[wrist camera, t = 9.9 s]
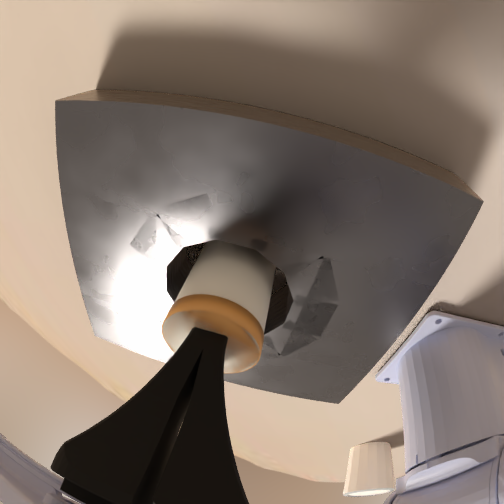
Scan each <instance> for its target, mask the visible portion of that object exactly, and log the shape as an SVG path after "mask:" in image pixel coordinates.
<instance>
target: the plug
mask: <svg viewBox="0 0 504 504" xmlns="http://www.w3.org/2000/svg"><path fill="white" fill-rule="evenodd" d="M275 271H276V266H275V265H274V264H272V263H271V262H270V261H269V260H268V259H266V258H265V257H264V256H263V255H262V254H260V253H259V252H258V251H257V250H255V249H252V248H248V247H244V246H240V245H236V244H232V243H228V242H225V241H221V240H212V241H208V242H206V243H205V245H204V247H203V249H202V251H201V253H200V254H199V256H198V258H197V260H196V262H195V264H194V266H193V268H192V269H191V271H190V273H189V275H188V277H187V279H186V281H185V283H184V285H183V287H182V289H181V290H180V292H179V294H178V296H177V298H176V300H175V302H174V303H173V304H172V306H171V307H170V309H169V311H168V313H167V315H166V317H165V319H164V321H163V323H162V328H161V330H162V336H163V338H164V340H165V342H166V344H167V345H168V347H169V348H170V349H171V350H172V351H173V352H174V353H175V352H176V351H177V350H178V348H179V347H180V346H181V344H182V343H183V342H184V340H185V339H186V337H187V336H188V334H189V333H190V331H191V329H192V328H194V327H197V328H201V329H204V330H207V331H211V332H215V333H218V334H222V335H225V336H227V338H228V341H227V346H226V350H225V358H224V373H239V372H243V371H246V370H248V369H250V368H252V367H253V366H255V365H256V364H257V363H258V361H259V359H260V356H261V351H262V346H263V341H264V330H265V325H266V319H267V314H268V309H269V304H270V298H271V293H272V288H273V282H274V277H275Z"/></svg>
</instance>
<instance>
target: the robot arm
mask: <svg viewBox="0 0 504 504" xmlns="http://www.w3.org/2000/svg"><path fill="white" fill-rule="evenodd" d="M227 341H228V338H227V336H225V335H222V334H218V333H215V332H211V331H207V330H204V329H201V328H197V327H194V328H192V329H191V331H190V333H189V334H188V336H187V337H186V339H185V340H184V342H183V343H182V344H181V346H180V347H179V348H178V350H177V351H176V352H175V353H174V355H173V356H172V357H171V358H170V359H169V360H168V362H167V363H166V364H165V365H164V366H163V367H162V369H161V370H160V371H159V372H158V373H157V374H156V375H155V376H154V377H153V378H152V379H151V380H150V381H149V382H148V383H147V384H146V385H145V386H144V387H143V388H142V389H141V390H140V391H139V392H138V393H137V394H135V395H134V396H133V397H132V398H131V399H130V400H128V401H127V402H126V403H125V404H124V405H122V406H121V407H120V408H119V409H117V410H116V411H115V412H113V413H112V414H111V415H109V416H108V417H106V418H105V419H103V420H102V421H100V422H99V423H97V424H96V425H94V426H93V427H91V428H90V429H88V430H86V431H84V432H83V433H81V434H79V435H77V436H75V437H74V438H71V439H69V440H68V441H66V442H65V443H64V444H63V445H62V446H61V448H60V449H59V451H58V452H57V454H56V456H55V458H54V460H53V463H52V465H51V469H52V470H53V471H54V472H56V473H57V474H59V475H60V476H62V477H64V479H63V478H61V477H60V476H58V475H56V474H55V473H53V472H51V471H50V470H48V469H47V468H45V467H44V466H42V465H41V464H39V463H38V462H36V461H35V460H33V459H32V458H30V457H29V456H28V455H26V454H25V453H23V452H22V451H21V450H19V449H18V448H17V447H15V446H14V445H13V444H11V443H10V442H9V441H8V440H7V439H6V437H4V436H3V435H2V434H1V433H0V500H1V502H3V504H80V503H81V504H249V502H248V500H247V498H246V495H245V492H244V489H243V486H242V483H241V480H240V477H239V473H238V470H237V466H236V462H235V458H234V454H233V450H232V446H231V441H230V436H229V430H228V424H227V417H226V408H225V397H224V358H225V350H226V346H227ZM375 378H376V381H378V382H385V383H393V384H399V388H400V397H401V406H402V417H403V430H404V447H405V473H406V475H404V476H402V477H400V478H397V479H396V490H395V491H394V492H393V493H392V494H391V495H389V497H388V498H387V499H386V500H385V502H384V504H504V327H503V326H499V325H495V324H490V323H486V322H481V321H477V320H473V319H469V318H464V317H460V316H456V315H452V314H447V313H443V312H439V311H430V312H429V313H427V314H426V316H425V317H424V318H423V320H422V321H421V322H420V323H419V325H418V326H417V327H416V329H415V330H414V331H413V332H412V334H411V335H410V336H409V337H408V339H407V340H406V341H405V342H404V343H403V345H402V346H401V347H400V348H399V349H398V350H397V352H396V353H395V354H394V355H393V356H392V357H391V359H390V360H389V361H388V362H387V363H386V364H385V365H384V366H383V367H382V369H381V370H380V371H379V372H378V373H377V374H376V375H375ZM182 422H183V423H182ZM181 424H182V425H181ZM180 427H181V428H180ZM179 430H180V431H179ZM178 432H179V433H178ZM177 435H178V436H177ZM62 493H63V494H65V495H66V496H68V497H70V498H72V499H74V500H75V501H77V502H75V501H73V500H71V499H68V498H66V497H63V496H62ZM78 502H79V503H78Z"/></svg>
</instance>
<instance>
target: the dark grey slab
mask: <svg viewBox="0 0 504 504" xmlns="http://www.w3.org/2000/svg"><path fill="white" fill-rule="evenodd" d="M55 121H56V146H57V160H58V171H59V180H60V189H61V197H62V204H63V210H64V216H65V222H66V228H67V233H68V238H69V243H70V248H71V253H72V257H73V262H74V266H75V270H76V274H77V278H78V282H79V285H80V289H81V293H82V296H83V300H84V303H85V307H86V310H87V313H88V316H89V319H90V322H91V326H92V329H93V331H94V334H95V336H97V337H99V338H101V339H104V340H106V341H109V342H111V343H113V344H116V345H118V346H121V347H123V348H126V349H128V350H131V351H134V352H136V353H139V354H142V355H144V356H147V357H150V358H153V359H156V360H158V361H161V362H164V363H167V362H168V360H169V359H170V358H171V357H172V356H173V355H174V352H173V351H172V350H171V349H170V348H169V347H168V345H167V344H166V342H165V340H164V338H163V336H162V330H161V328H162V323H163V321H164V319H165V317H166V315H167V313H168V311H169V309H170V307H171V306H172V304H173V303H174V302H175V300H176V298H177V296H178V294H179V292H180V290H181V289H182V287H183V285H184V283H185V281H186V279H187V277H188V275H189V273H190V271H191V269H192V268H193V267H192V265H191V264H190V262H189V260H188V258H187V246H189V245H194V244H198V243H203V242H208V241H212V240H221V241H225V242H228V243H232V244H236V245H240V246H244V247H248V248H252V249H255V250H257V251H258V252H259V253H260V254H262V255H263V256H264V257H265V258H266V259H268V260H269V261H270V262H271V263H272V264H274V265H275V266H276V267H277V268H278V269H280V270H281V271H282V272H283V273H284V274H285V277H286V280H287V283H288V285H286V286H285V287H283V288H282V289H281V290H279V291H278V292H276V293H275V294H273V295H272V296H271V298H270V304H269V309H268V314H267V319H266V325H265V330H264V341H263V346H262V351H261V356H260V359H259V361H258V363H257V364H256V365H255V366H253V367H252V368H250V369H248V370H246V371H243V372H239V373H224V381H227V382H231V383H235V384H239V385H243V386H247V387H251V388H255V389H260V390H264V391H269V392H273V393H278V394H283V395H288V396H293V397H299V398H304V399H310V400H316V401H323V402H329V403H336V404H339V403H340V402H341V401H342V400H343V399H344V398H345V397H346V396H347V395H348V394H349V393H350V392H351V391H352V390H353V389H354V388H355V386H356V385H357V384H358V383H359V382H360V381H361V380H362V379H363V378H364V377H365V376H366V375H367V373H368V372H369V371H370V370H371V369H372V368H373V367H374V366H375V364H376V363H377V362H378V361H379V360H380V359H381V358H382V356H383V355H384V354H385V353H386V352H387V350H388V349H389V348H390V347H391V346H392V344H393V343H394V342H395V341H396V339H397V338H398V337H399V336H400V334H401V333H402V332H403V331H404V329H405V328H406V327H407V325H408V324H409V323H410V321H411V320H412V319H413V317H414V316H415V315H416V313H417V312H418V311H419V309H420V308H421V306H422V305H423V304H424V302H425V301H426V299H427V298H428V296H429V295H430V294H431V292H432V291H433V289H434V288H435V286H436V285H437V283H438V282H439V280H440V278H441V277H442V275H443V274H444V272H445V271H446V269H447V267H448V266H449V264H450V263H451V261H452V259H453V258H454V256H455V254H456V253H457V251H458V249H459V247H460V246H461V244H462V242H463V240H464V239H465V237H466V235H467V233H468V231H469V229H470V228H471V226H472V224H473V222H474V220H475V218H476V216H477V214H478V212H479V210H480V208H481V206H482V204H483V202H484V201H483V200H482V199H481V198H480V197H479V196H478V195H477V194H476V193H475V192H474V191H473V190H472V189H471V188H470V187H469V186H467V185H466V184H465V183H464V182H463V181H462V180H461V179H460V178H459V177H458V176H457V175H456V174H454V173H452V172H450V171H448V170H446V169H444V168H442V167H439V166H437V165H435V164H433V163H431V162H428V161H426V160H424V159H421V158H419V157H417V156H414V155H412V154H410V153H407V152H405V151H402V150H400V149H397V148H395V147H392V146H389V145H387V144H384V143H381V142H379V141H376V140H373V139H370V138H367V137H365V136H362V135H359V134H356V133H353V132H350V131H347V130H343V129H340V128H337V127H334V126H330V125H327V124H324V123H320V122H317V121H313V120H309V119H306V118H302V117H298V116H294V115H290V114H286V113H282V112H278V111H273V110H269V109H264V108H260V107H255V106H250V105H245V104H240V103H234V102H228V101H222V100H216V99H210V98H203V97H196V96H188V95H179V94H170V93H159V92H147V91H130V90H91V91H87V92H84V93H80V94H76V95H72V96H69V97H66V98H62V99H59V100H56V101H55Z"/></svg>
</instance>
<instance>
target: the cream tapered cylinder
mask: <svg viewBox="0 0 504 504" xmlns="http://www.w3.org/2000/svg"><path fill="white" fill-rule="evenodd" d="M394 489H395V480H394V471H393V462H392V453H391V446H390V444H389V443H387V442H369V443H364V444H359V445H356V446H354V447H352V448H351V449H350V455H349V462H348V468H347V474H346V480H345V486H344V491H343V495H344V496H351V497H364V496H373V495H379V494H383V493H387V492H390V491H393V490H394Z"/></svg>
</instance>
